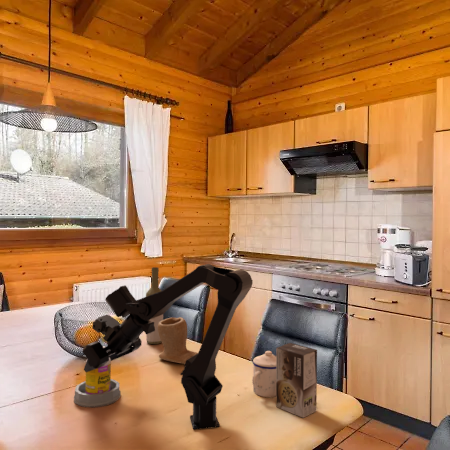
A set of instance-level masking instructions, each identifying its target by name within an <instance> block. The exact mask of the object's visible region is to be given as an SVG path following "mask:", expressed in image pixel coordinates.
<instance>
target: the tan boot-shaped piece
mask: <svg viewBox="0 0 450 450" xmlns="http://www.w3.org/2000/svg"><path fill="white" fill-rule="evenodd" d="M158 333H159V336H160V339H161V341H162V342H161V344H162V346H163V351H162V352H160V353H159V355H158V358H159V359H161V360H164V361H166V362H172V363H176V364H177V363H178V364H181V365H185V362H186V360H188V359H189V358H191V357H192V356H194V355H196V354H197V353H198V352H196V351H193V350H188V349H187V339H188V323H187V321H186V319H185V318H183V317H181V316H179V317H169V318H165V319H164V318H163V320H162V321H160V322H159V323H158Z"/></svg>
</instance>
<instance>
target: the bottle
mask: <svg viewBox="0 0 450 450" xmlns="http://www.w3.org/2000/svg"><path fill="white" fill-rule="evenodd" d="M159 269H160V268H159V267H156V266H155V267H153V266H152V267H151V286H150V288H149V289H148V290H147V291H146V293H145V297H147V296H149V295H152V294H155V293H158V292H160V291H162V289H160V287H159V272H160V271H159ZM162 320H164V314H163V315H160V316H158V317H155V318H152V319H150V321H151V322H154V326H155V331H154V332H151V333H149V334H146V333H145V337H146V343H147V344H149V345H159V344H162V341H161V339H160V336H159V333H158V323H159V322H160V321H162Z"/></svg>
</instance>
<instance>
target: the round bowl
mask: <svg viewBox="0 0 450 450" xmlns="http://www.w3.org/2000/svg"><path fill="white" fill-rule="evenodd" d="M110 379H111V380H110V391H109V392H105V393H102V394H86V393H85V388H86V380H85V381H82V382H81V383H79V384H77V385H76V386H75V390H74V394H73V403H74V404H75V405H77V406H80V407H82V408H83V407H84V408H100V407H101V408H102V407H105V406H109V405H112V404H114V403H115V402H117V401H119V400H120V398H121V396H122V395H121V390H120V382H119V381H117V380H116V379H112V378H110Z"/></svg>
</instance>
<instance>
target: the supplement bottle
mask: <svg viewBox="0 0 450 450" xmlns="http://www.w3.org/2000/svg"><path fill="white" fill-rule="evenodd" d="M102 346H103V348H104V347H106V345H105V346H104V345H102ZM86 362H87V359H86V361H85V363H86ZM111 365H112V362H111V359H110V358H109V361H108V362H107V363H106V364H104V366H102V367H100V368H97V369H94V370H91V371H89V372H85V381H86V388H85V393H86V394H102V393H105V392H109V391H110V380H111V379H112V378H111V376H112V375H111V372H112V371H111V370H112V368H111V367H112V366H111Z"/></svg>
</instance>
